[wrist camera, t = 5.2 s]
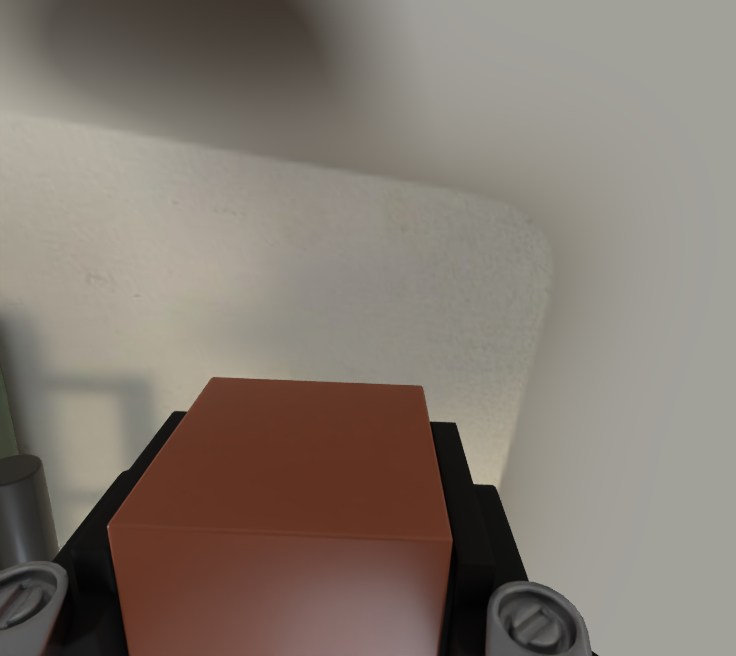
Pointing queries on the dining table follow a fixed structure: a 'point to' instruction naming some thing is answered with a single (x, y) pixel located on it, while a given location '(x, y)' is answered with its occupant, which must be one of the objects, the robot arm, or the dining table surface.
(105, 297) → the dining table surface
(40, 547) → the drawer
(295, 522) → the block
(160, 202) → the dining table surface
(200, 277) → the dining table surface
